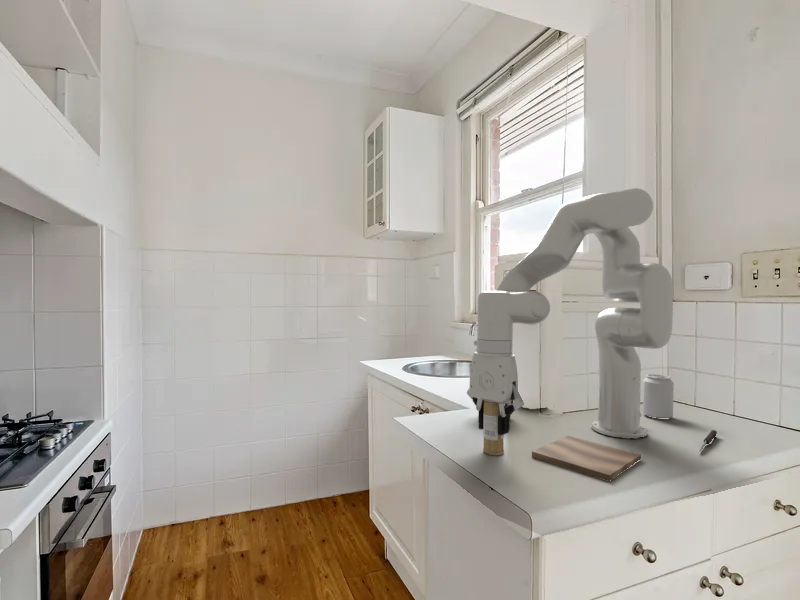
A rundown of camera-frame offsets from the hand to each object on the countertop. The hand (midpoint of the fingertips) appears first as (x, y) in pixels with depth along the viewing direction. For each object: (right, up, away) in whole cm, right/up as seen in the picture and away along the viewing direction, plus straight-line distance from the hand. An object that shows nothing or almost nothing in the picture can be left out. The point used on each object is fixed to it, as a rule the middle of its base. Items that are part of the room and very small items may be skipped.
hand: (493, 430), depth 93 cm
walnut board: (+19, -5, -3) cm, 20 cm away
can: (+54, -6, +30) cm, 62 cm away
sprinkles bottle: (0, -5, 0) cm, 5 cm away
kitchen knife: (+51, -6, +6) cm, 52 cm away
